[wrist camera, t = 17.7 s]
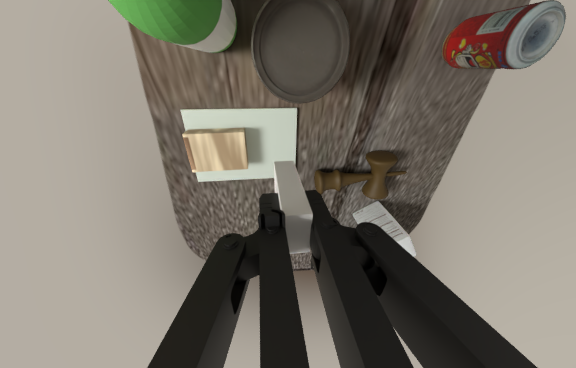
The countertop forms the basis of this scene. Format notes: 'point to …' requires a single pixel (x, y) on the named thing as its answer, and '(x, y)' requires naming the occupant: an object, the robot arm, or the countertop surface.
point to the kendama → (362, 176)
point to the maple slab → (216, 149)
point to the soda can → (505, 37)
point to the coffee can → (300, 47)
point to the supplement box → (385, 224)
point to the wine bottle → (184, 21)
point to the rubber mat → (250, 137)
